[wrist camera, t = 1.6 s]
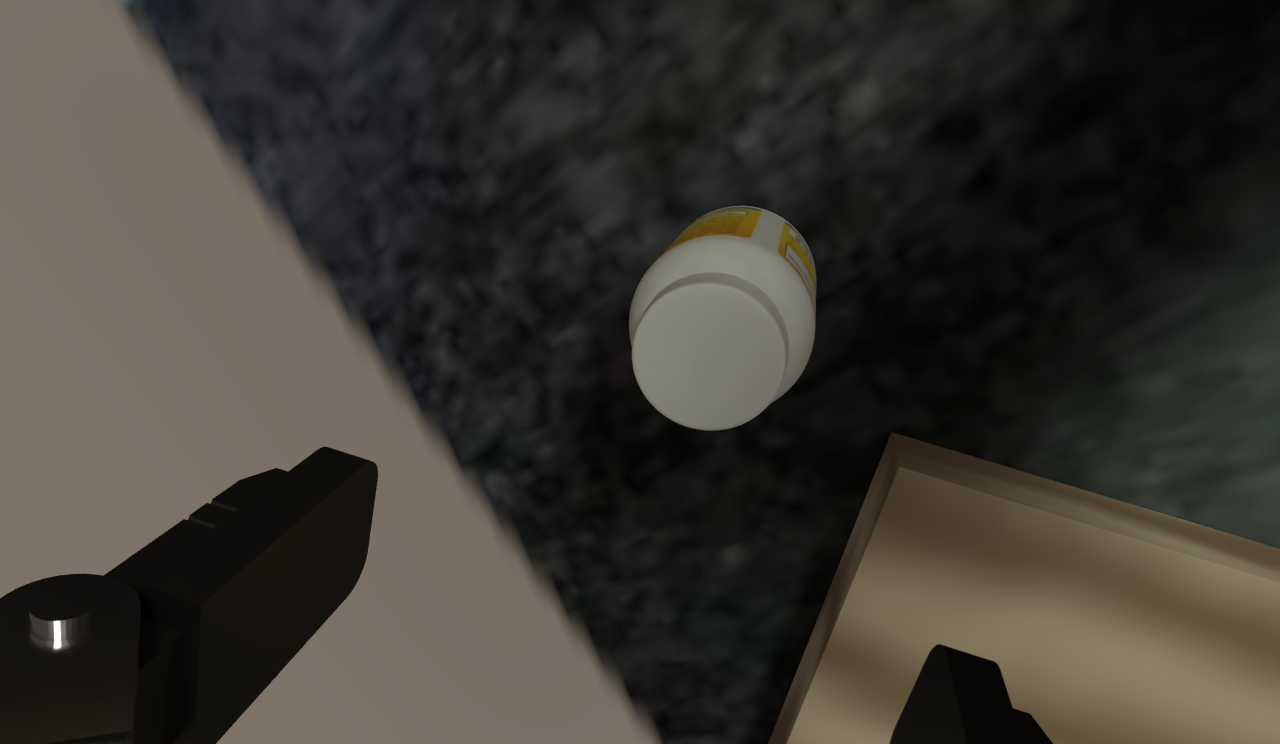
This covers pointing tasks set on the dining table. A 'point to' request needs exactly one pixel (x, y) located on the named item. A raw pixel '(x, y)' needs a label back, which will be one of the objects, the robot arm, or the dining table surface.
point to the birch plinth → (1041, 611)
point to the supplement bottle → (724, 318)
